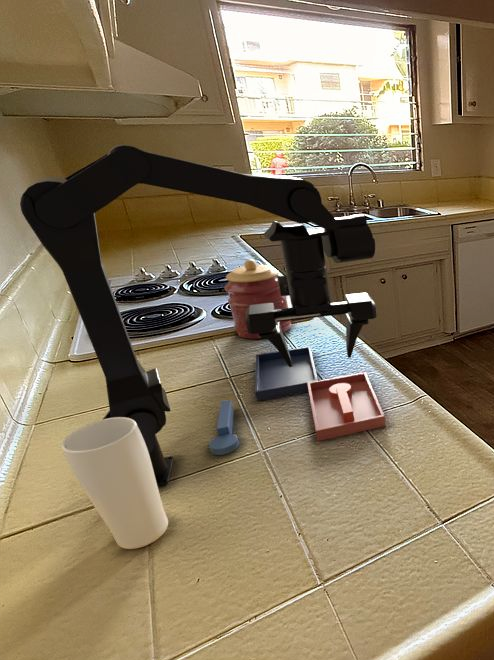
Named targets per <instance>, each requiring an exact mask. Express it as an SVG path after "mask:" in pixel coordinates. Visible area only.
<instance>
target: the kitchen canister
mask: <svg viewBox="0 0 494 660" xmlns="http://www.w3.org/2000/svg"><path fill="white" fill-rule="evenodd" d="M278 275H279V270H277V269H276V268H273V267H271V266H270V265H267V264H257V262H256V260H254V259H251V258H249V259H246V260H245V261H244V264H243V266H238V267H235V268H233V269H231V271H230V272H229V273H228V274H226V276H225V279H226V280H227V281H228V282H227V283H225V285H224V286H223V287H224V290H225V291H226V292H227V293H228V299H227V303H228V304H229V307H230V312H231V316H232V321H233V327H234V330H235V331H236V334H237V335H238V337H241V338H243V339H249V340H250V339H251V340H259V339H260V340H261V338H259V334H248V330H247V326H246V320H245V316H246V309H247V308H248V306H249V305H256V304H265V303H273V304H274V309H284V308H289V304H288V299H287V296H281V295H280V289H279V283H278V277H277V276H278ZM280 326H281V329H282V333H283V334H285V333H286V332H287V331H289V330H290V329H291V327H292V320H290V321H282V322H280Z"/></svg>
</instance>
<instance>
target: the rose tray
mask: <svg viewBox="0 0 494 660" xmlns="http://www.w3.org/2000/svg"><path fill="white" fill-rule="evenodd" d="M338 383H347V384H349V385H350V386H351V390H352V393H351V395H350V396H348V397H349V400H350V403H351V406H352V410H353V414H354V421H352V422H348V423H344V420H343V416H342V413H341V409H340V406H339V402H338V399H333V398H331V397H330V395H329V388H330V387H331V386H332V385H335V384H338ZM307 385H308V391H309V392H308V396H309V401H310V409H311V413H312V418H313V423H314V429H315V434H316V440H317V442H320V441H324V440H329V439H334V438H339V437H343V436H348V435H351V434H357V433H360V432H361V433H362V432H365V431H370V430H374V429H379V428H383V427H386V426H387V422H386V415H385V413H384V411H383V408H382V406H381V404H380V402H379V399H378V397H377V394H376V392H375V390H374V387H373V385H372V383H371V381H370V379H369V376H368V374H367V372H366V371H364V372H359V373H353V374H347V375H341V376H336V377H331V378H326V379H320V380H319V379H318V381H314V382H308V383H307Z"/></svg>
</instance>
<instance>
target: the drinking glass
mask: <svg viewBox="0 0 494 660" xmlns="http://www.w3.org/2000/svg"><path fill="white" fill-rule="evenodd" d="M102 419H103V418H102ZM102 419H100V420H99V419H98V420H95V421H93V422H91V423H87V424H85V425H82V426H80V427H78V428H77V429H75V430H73V431H72V432H70V433H69V434H68V435H66V437H64V438H63V440H62V442H61V444H60V447H61V450H62V453H63V455H64V457H65V460H66V462H67V464H68V466H69V469H70V470H71V473H72V475H73V476H74V478H75V480H76V481H77V483H78V485H79V486H80V488H81V489H82V491H83V492H84V494H85V496H86V497H87V498H88V500H89V501H90V503H91V504H92V505H93V507H94V509H95V510H96V512H97V513H98V515H99V516H100V517H101V519H102V520H103V522H104V523H105V525H106V527H107V529H108V530H109V531H110V533H111V535H112V536H113V539H114V541H115V542H116V544H117V546H119V547H120V548H122V549H124V550H125V549H126V550H137V549H140V548H143V547H146V546H148V545H150V544H152V543H154V542H155V541H157V540H158V539H160V538H161V537H162V536H163V535H164V533H165V532H166V531H167V529H168V526H169V519H168V516H167V513H166V510H165V508H164V504H163V501H162V497H161V494H160V490H159V487H158V486H157V482H156V478H155V474H154V470H153V467H152V463H151V459H150V455H149V452H148V449H147V446H146V443H145V441H144V438H143V436H142V434H141V432H140V430H139V428H138V426H137V423H136V422H135V421H134V420H133V419H130V418H126V417H115V418H107V419H103V420H102Z"/></svg>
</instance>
